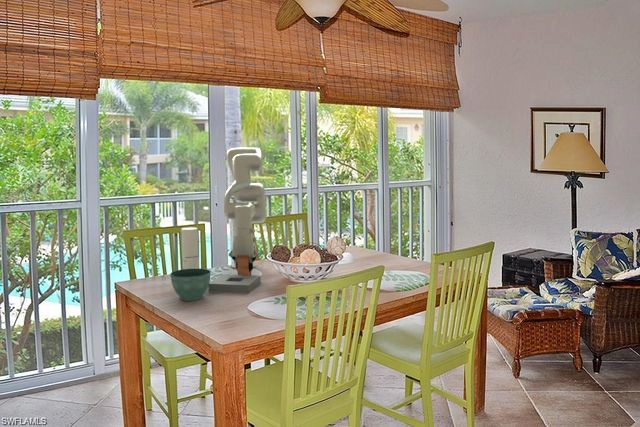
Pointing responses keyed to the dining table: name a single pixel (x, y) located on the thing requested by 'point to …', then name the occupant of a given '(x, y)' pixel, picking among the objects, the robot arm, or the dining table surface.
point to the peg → (243, 265)
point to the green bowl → (190, 283)
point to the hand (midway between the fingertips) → (244, 270)
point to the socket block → (234, 283)
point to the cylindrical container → (190, 248)
